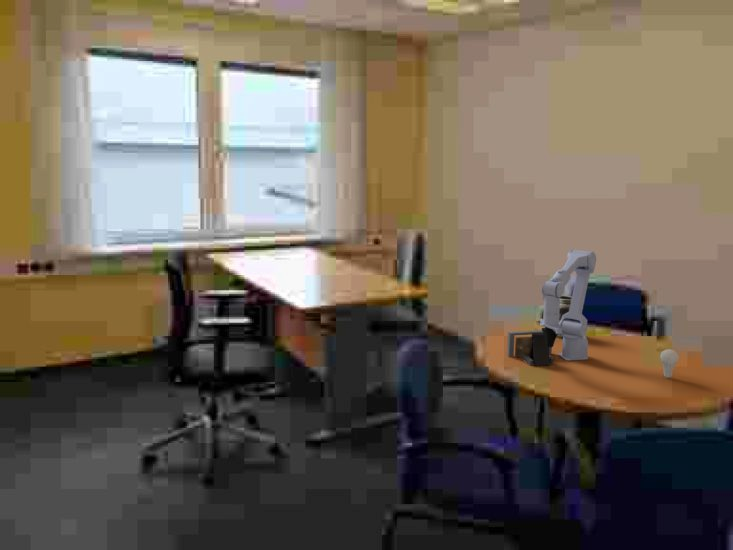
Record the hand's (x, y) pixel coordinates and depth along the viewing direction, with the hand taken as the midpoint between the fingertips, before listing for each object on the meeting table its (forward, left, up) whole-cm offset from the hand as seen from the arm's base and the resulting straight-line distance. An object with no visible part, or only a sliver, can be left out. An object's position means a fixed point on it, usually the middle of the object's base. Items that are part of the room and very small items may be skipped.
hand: (549, 346), depth 240 cm
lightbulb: (-39, +16, -10) cm, 44 cm away
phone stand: (0, -9, -10) cm, 13 cm away
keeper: (0, -10, -9) cm, 14 cm away
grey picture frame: (0, -18, -9) cm, 21 cm away
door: (0, -15, -9) cm, 18 cm away
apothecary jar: (-26, -41, -10) cm, 50 cm away
